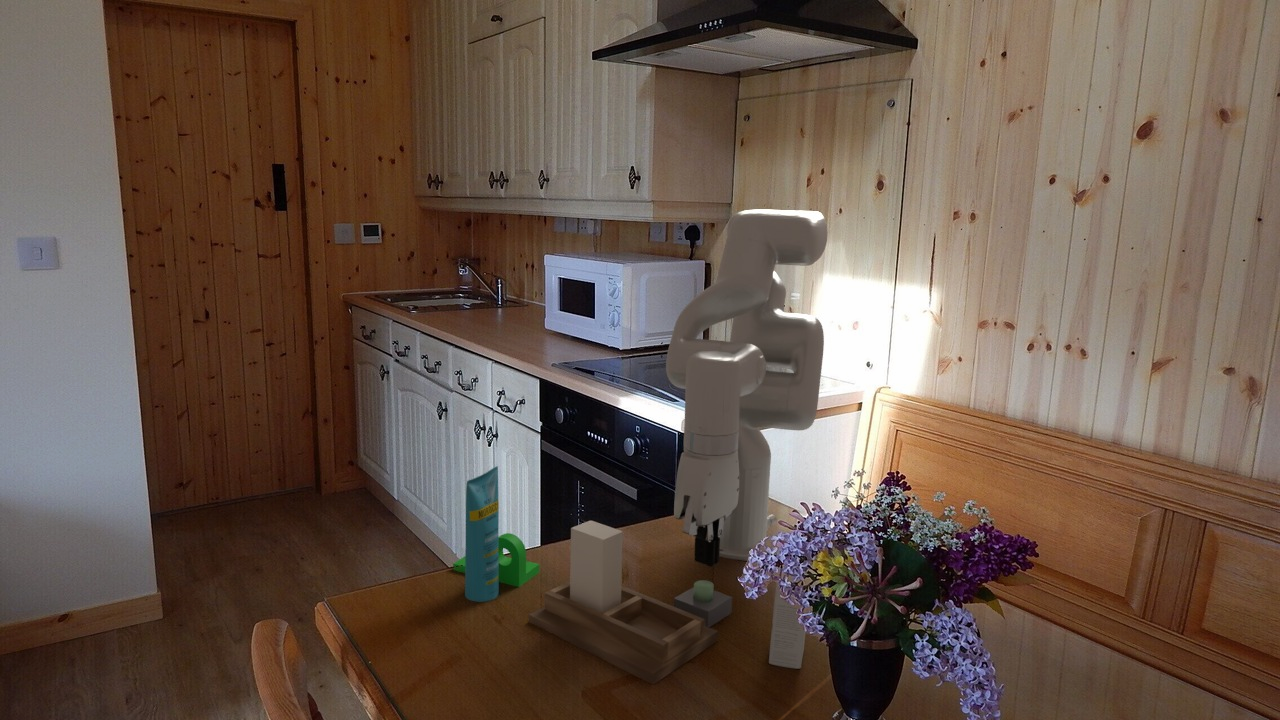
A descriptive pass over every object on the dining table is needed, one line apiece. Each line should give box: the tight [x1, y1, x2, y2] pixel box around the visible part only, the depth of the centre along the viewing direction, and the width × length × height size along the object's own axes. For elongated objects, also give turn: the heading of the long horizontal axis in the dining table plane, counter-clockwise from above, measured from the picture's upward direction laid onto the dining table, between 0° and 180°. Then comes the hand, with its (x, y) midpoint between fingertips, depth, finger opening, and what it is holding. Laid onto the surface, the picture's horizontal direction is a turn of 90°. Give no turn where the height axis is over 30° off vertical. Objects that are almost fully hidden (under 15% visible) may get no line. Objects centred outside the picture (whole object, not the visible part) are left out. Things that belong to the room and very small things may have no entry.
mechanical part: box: [452, 532, 540, 588], centre depth 129 cm, size 12×6×8 cm, turn 67°
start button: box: [693, 579, 714, 602], centre depth 119 cm, size 3×3×2 cm
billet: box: [569, 519, 624, 613], centre depth 115 cm, size 4×6×12 cm, turn 51°
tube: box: [464, 465, 500, 603], centre depth 120 cm, size 7×5×19 cm, turn 161°
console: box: [673, 586, 733, 628], centre depth 119 cm, size 6×6×2 cm
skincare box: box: [768, 582, 806, 670], centre depth 107 cm, size 6×4×12 cm
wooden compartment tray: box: [528, 580, 719, 685], centre depth 113 cm, size 14×22×4 cm, turn 51°
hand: (706, 561), depth 119 cm, fingers closed
